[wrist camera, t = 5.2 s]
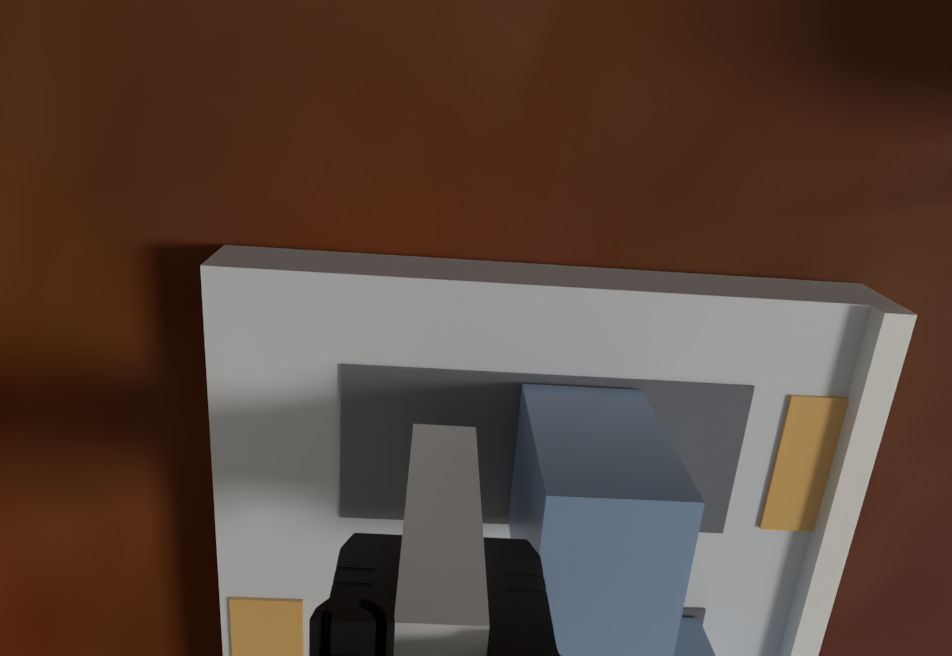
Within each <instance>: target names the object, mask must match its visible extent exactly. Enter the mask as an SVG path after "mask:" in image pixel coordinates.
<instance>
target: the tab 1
mask: <svg viewBox="0 0 952 656" xmlns="http://www.w3.org/2000/svg"><path fill="white" fill-rule="evenodd" d="M704 505H705V502H704V500H703V498H702V497H701V495H700V493H699V491H698V490H697V488H696V486H695V484H694V482H693V481H692V479H691V477H690V475H689V474H688V472H687V470H686V468H685V467H684V465H683V463H682V461H681V459H680V458H679V456H678V454H677V452H676V451H675V449H674V447H673V445H672V444H671V442H670V440H669V438H668V436H667V435H666V433H665V431H664V429H663V428H662V426H661V424H660V422H659V421H658V419H657V417H656V415H655V414H654V412H653V410H652V408H651V406H650V405H649V403H648V401H647V399H646V398H645V396H644V394H643V392H642V391H641V390H636V389H616V388H597V387H578V386H558V385H539V384H522V389H521V399H520V409H519V419H518V429H517V439H516V449H515V459H514V468H513V478H512V488H511V498H510V508H509V518H508V522H509V530H510V538H511V539H527V540H528V541H529V542H530V543H531V545H532V546H533V547H534V549H535V550H536V551H537V552H538V554H539V555H540V557H541V563H542V568H543V574H544V575H543V577H544V579H545V585H546V593H547V596H548V602H549V607H550V613H551V618H552V624H553V630H554V635H555V641H556V646H557V650H558V652H559V654H560V655H561V656H674V651H675V646H676V641H677V636H678V631H679V626H680V622H681V617H682V612H683V607H684V602H685V597H686V592H687V588H688V583H689V578H690V573H691V568H692V563H693V558H694V554H695V549H696V544H697V539H698V534H699V529H700V524H701V520H702V515H703V510H704Z"/></svg>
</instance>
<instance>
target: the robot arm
mask: <svg viewBox="0 0 952 656" xmlns="http://www.w3.org/2000/svg"><path fill="white" fill-rule="evenodd" d="M543 575H544V574H543V568H542V563H541V557H540V555H539V554H538V552H537V551H536V550H535V549H534V547H533V546H532V545H531V543H530V542H529V541H528V540H527V539H510V538H489V537H483V524H482V509H481V495H480V480H479V466H478V451H477V437H476V427H463V426H446V425H428V424H413V432H412V443H411V453H410V463H409V473H408V483H407V493H406V503H405V513H404V523H403V533H402V535H392V534H371V533H353V535H352V536H351V537H350V538H349V539H348V540H347V541H346V542H345V544H344V545H343V546H342V547H341V548H340V552H339V556H338V561H337V565H336V570H335V574H334V579H333V585H332V588H331V592H330V597H329V599H327V600H325V601H324V602H323V603H322V604H320V605H319V606H318V607H317V608H315V610H314V612H313V614H312V616H311V618H310V620H309V656H561V655H560V654H559V652H558V650H557V646H556V641H555V635H554V630H553V624H552V618H551V613H550V607H549V602H548V596H547V593H546V585H545V579H544V577H543Z"/></svg>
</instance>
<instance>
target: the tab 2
mask: <svg viewBox="0 0 952 656" xmlns="http://www.w3.org/2000/svg"><path fill="white" fill-rule="evenodd" d="M674 656H715V653H714V651H713V649H712V647H711V644H710V642H709V640H708V637H707V635H706V633H705V631H704V628H703V626H702V624H701V621H700V619H699V618H686V617H681V622H680V626H679V631H678V636H677V641H676V646H675V651H674Z"/></svg>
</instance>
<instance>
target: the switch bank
mask: <svg viewBox="0 0 952 656" xmlns="http://www.w3.org/2000/svg"><path fill="white" fill-rule="evenodd" d="M200 271H201V288H202V306H203V323H204V340H205V357H206V374H207V392H208V409H209V426H210V443H211V461H212V478H213V495H214V512H215V529H216V547H217V564H218V581H219V598H220V615H221V633H222V650H223V656H309V620H310V618H311V616H312V614H313V612H314V610H315V608H317V607H318V606H319V605H320V604H322V603H323V602H324V601H325V600H327V599H329V597H330V592H331V588H332V585H333V579H334V574H335V570H336V565H337V561H338V556H339V552H340V548H341V547H342V546H343V545H344V544H345V542H346V541H347V540H348V539H349V538H350V537H351V536H352V535H353V533H371V534H392V535H402V533H403V523H404V513H405V503H406V493H407V483H408V473H409V463H410V453H411V443H412V432H413V424H428V425H446V426H463V427H476V437H477V451H478V466H479V480H480V495H481V509H482V524H483V537H489V538H510V530H509V522H508V518H509V508H510V498H511V488H512V478H513V468H514V459H515V449H516V439H517V429H518V419H519V409H520V399H521V389H522V384H539V385H558V386H578V387H597V388H616V389H636V390H641V391H642V392H643V394H644V396H645V398H646V399H647V401H648V403H649V405H650V406H651V408H652V410H653V412H654V414H655V415H656V417H657V419H658V421H659V422H660V424H661V426H662V428H663V429H664V431H665V433H666V435H667V436H668V438H669V440H670V442H671V444H672V445H673V447H674V449H675V451H676V452H677V454H678V456H679V458H680V459H681V461H682V463H683V465H684V467H685V468H686V470H687V472H688V474H689V475H690V477H691V479H692V481H693V482H694V484H695V486H696V488H697V490H698V491H699V493H700V495H701V497H702V498H703V500H704V502H705V505H704V510H703V515H702V520H701V524H700V529H699V534H698V539H697V544H696V549H695V554H694V558H693V563H692V568H691V573H690V578H689V583H688V588H687V592H686V597H685V602H684V607H683V612H682V617H686V618H699V619H700V621H701V624H702V626H703V628H704V631H705V633H706V635H707V637H708V640H709V642H710V644H711V647H712V649H713V651H714V653H715V656H818V655H819V651H820V648H821V644H822V641H823V638H824V634H825V631H826V627H827V624H828V620H829V617H830V613H831V610H832V607H833V603H834V600H835V596H836V593H837V589H838V586H839V582H840V579H841V576H842V572H843V569H844V565H845V562H846V558H847V555H848V552H849V548H850V545H851V541H852V538H853V534H854V531H855V527H856V524H857V521H858V517H859V514H860V510H861V507H862V503H863V500H864V497H865V493H866V490H867V486H868V483H869V479H870V476H871V472H872V469H873V466H874V462H875V459H876V455H877V452H878V448H879V445H880V442H881V438H882V435H883V431H884V428H885V424H886V421H887V417H888V414H889V411H890V407H891V404H892V400H893V397H894V393H895V390H896V387H897V383H898V380H899V376H900V373H901V369H902V366H903V362H904V359H905V356H906V352H907V349H908V345H909V342H910V338H911V335H912V332H913V328H914V325H915V321H916V318H917V315H916V314H915V313H913V312H911V311H909V310H907V309H906V308H904V307H902V306H900V305H899V304H897V303H895V302H893V301H891V300H890V299H888V298H886V297H884V296H883V295H881V294H879V293H877V292H875V291H874V290H872V289H870V288H868V287H866V286H865V285H863V284H861V283H846V282H829V281H813V280H796V279H780V278H764V277H747V276H731V275H714V274H698V273H681V272H665V271H648V270H632V269H615V268H599V267H582V266H566V265H550V264H533V263H517V262H500V261H484V260H467V259H451V258H434V257H418V256H401V255H385V254H369V253H352V252H336V251H319V250H303V249H286V248H270V247H253V246H237V245H224V246H222V247H221V248H220V249H219V250H218V251H217V252H215V253H214V254H213V255H212V256H211V257H209V258H208V259H207V260H206V261H205V262H204V263H202V264H201V265H200ZM510 539H511V538H510Z"/></svg>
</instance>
